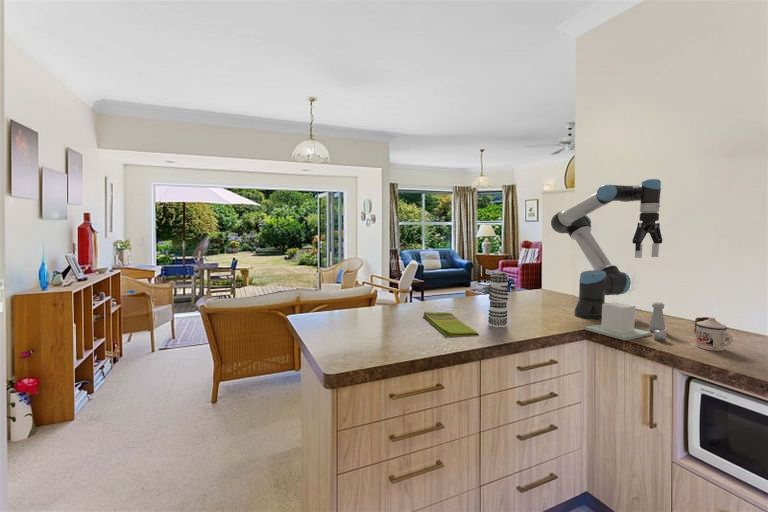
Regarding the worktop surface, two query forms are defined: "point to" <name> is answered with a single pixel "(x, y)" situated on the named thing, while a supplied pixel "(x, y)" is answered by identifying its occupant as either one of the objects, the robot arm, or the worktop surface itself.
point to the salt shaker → (657, 317)
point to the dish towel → (448, 324)
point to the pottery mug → (699, 321)
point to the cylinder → (660, 335)
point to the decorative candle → (498, 299)
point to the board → (623, 336)
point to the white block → (618, 317)
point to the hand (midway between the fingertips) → (646, 257)
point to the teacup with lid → (712, 335)
